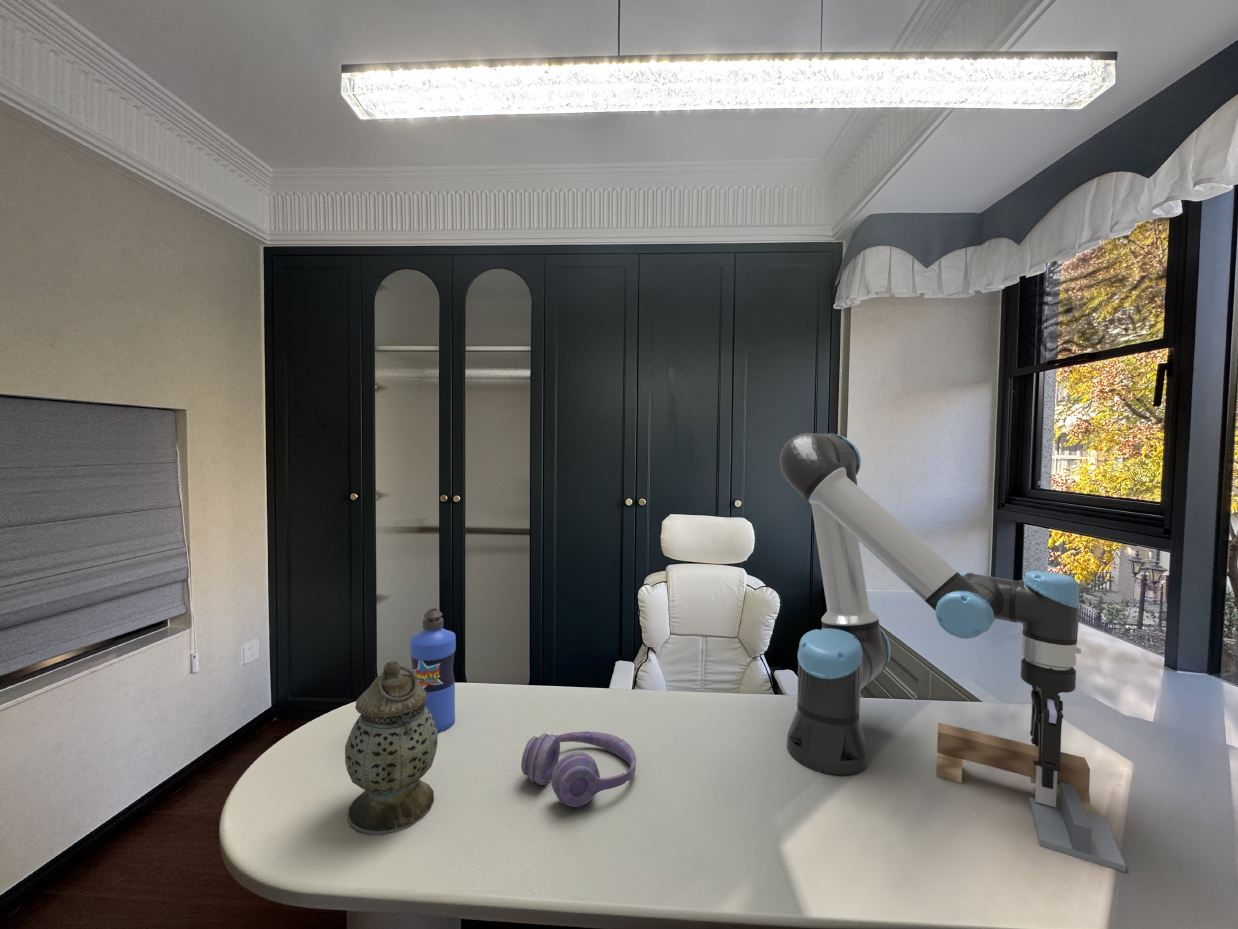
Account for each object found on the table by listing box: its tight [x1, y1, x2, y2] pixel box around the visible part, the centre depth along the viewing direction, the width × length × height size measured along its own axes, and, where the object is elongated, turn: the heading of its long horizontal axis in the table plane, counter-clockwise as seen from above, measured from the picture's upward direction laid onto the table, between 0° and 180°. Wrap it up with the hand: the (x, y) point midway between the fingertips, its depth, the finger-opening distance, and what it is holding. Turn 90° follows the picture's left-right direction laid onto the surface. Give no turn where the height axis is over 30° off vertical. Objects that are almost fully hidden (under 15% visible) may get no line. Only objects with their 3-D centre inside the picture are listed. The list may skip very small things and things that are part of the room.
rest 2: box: [1056, 784, 1091, 813], centre depth 94 cm, size 4×6×4 cm, turn 149°
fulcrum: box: [1028, 782, 1127, 873], centre depth 87 cm, size 10×12×5 cm
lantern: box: [344, 660, 439, 836], centre depth 91 cm, size 14×14×25 cm
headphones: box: [520, 731, 637, 808], centre depth 101 cm, size 18×8×20 cm
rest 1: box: [935, 739, 963, 784], centre depth 104 cm, size 4×6×4 cm, turn 149°
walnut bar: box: [936, 722, 1091, 794], centre depth 99 cm, size 22×4×4 cm, turn 59°
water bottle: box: [409, 608, 457, 734], centre depth 118 cm, size 9×9×25 cm
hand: (1042, 793), depth 96 cm, fingers open, 6 cm apart
